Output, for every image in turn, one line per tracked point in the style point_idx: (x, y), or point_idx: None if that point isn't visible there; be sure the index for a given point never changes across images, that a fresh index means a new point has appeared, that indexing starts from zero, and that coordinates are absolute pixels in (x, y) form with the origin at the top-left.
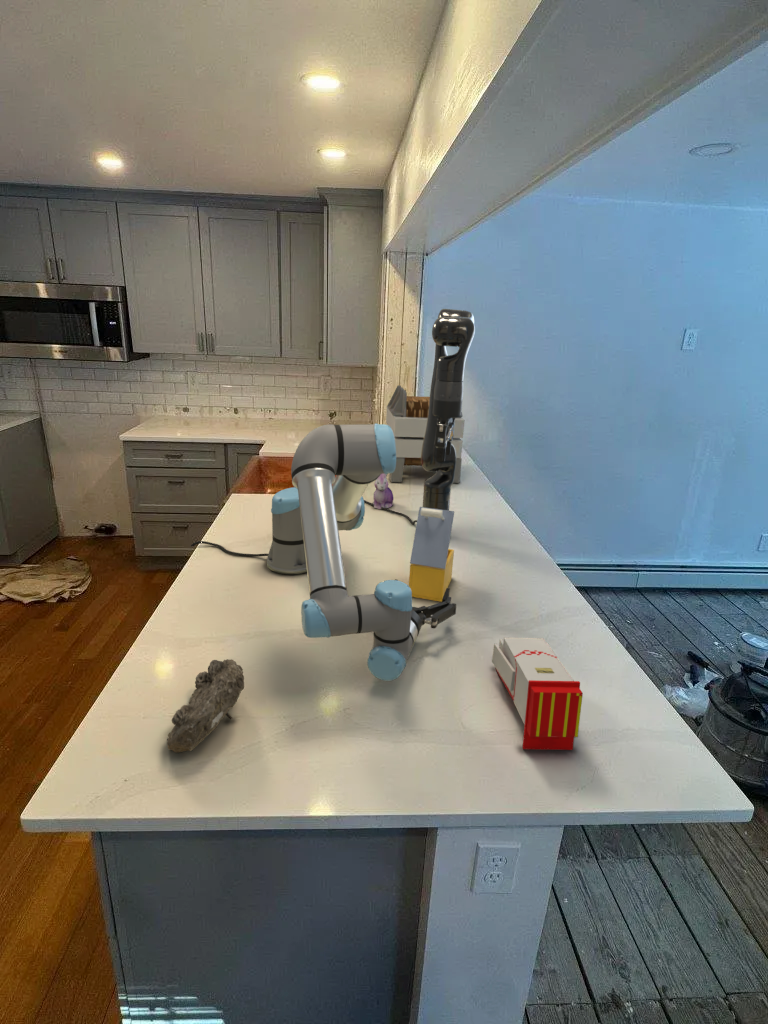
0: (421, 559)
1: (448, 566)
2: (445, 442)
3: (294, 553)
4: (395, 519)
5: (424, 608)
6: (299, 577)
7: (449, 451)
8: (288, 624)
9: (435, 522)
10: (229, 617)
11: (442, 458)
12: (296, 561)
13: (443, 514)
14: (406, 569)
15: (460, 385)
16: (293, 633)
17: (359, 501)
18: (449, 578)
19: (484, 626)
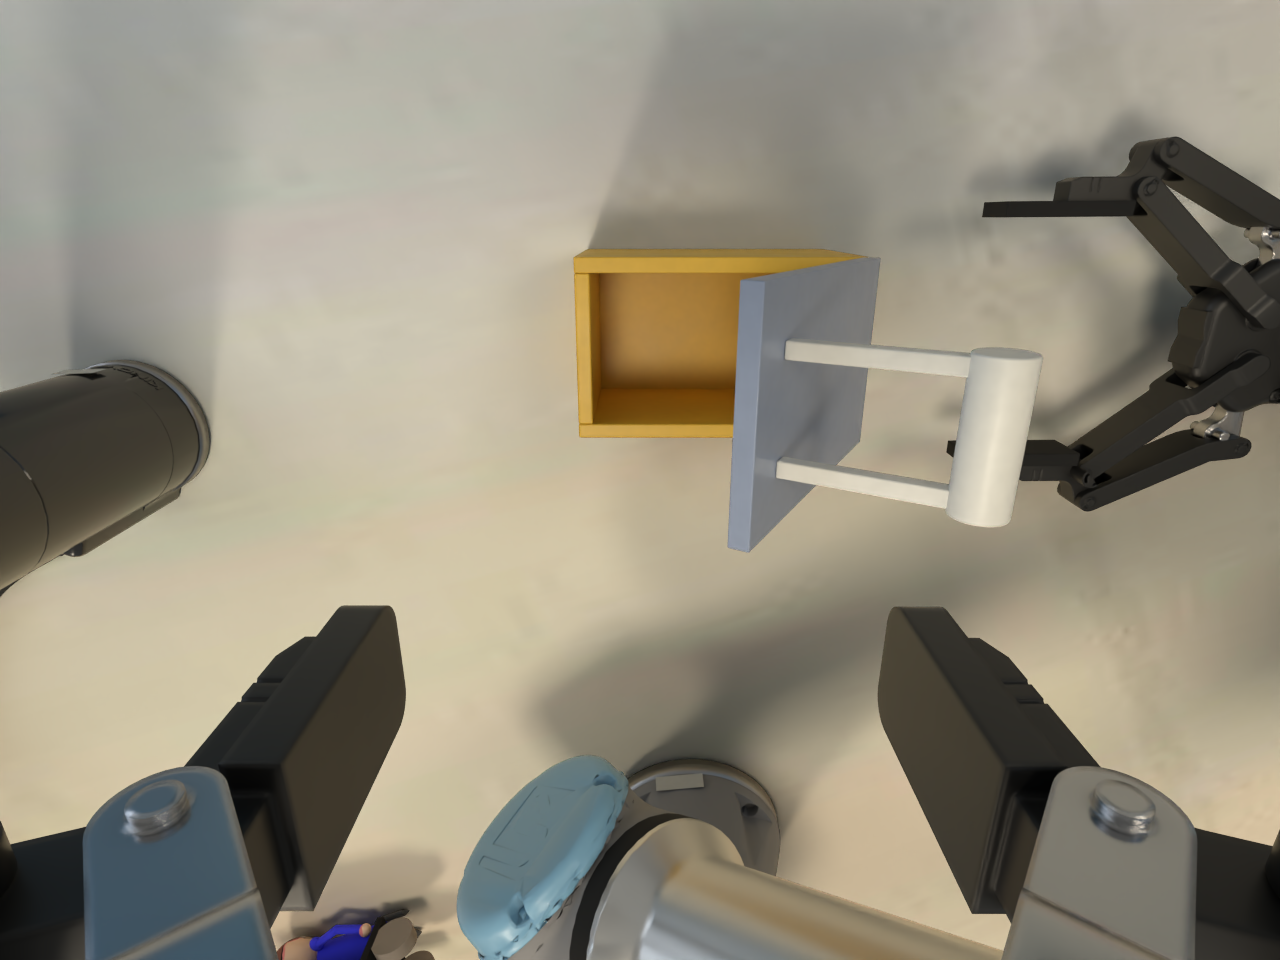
0: (859, 394)
1: (740, 255)
2: (1189, 915)
3: (764, 861)
4: (51, 636)
5: (1248, 278)
6: (779, 775)
7: (370, 641)
8: (1093, 695)
9: (793, 396)
10: None
11: (1008, 662)
12: (759, 829)
13: (773, 359)
14: (570, 460)
15: None
16: (1143, 664)
17: (639, 878)
18: (657, 250)
19: (994, 18)
